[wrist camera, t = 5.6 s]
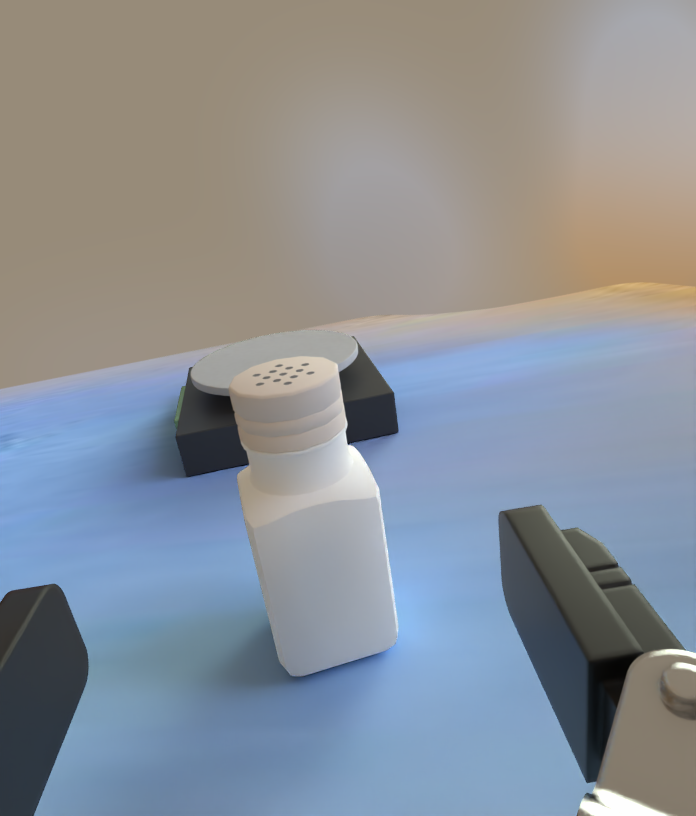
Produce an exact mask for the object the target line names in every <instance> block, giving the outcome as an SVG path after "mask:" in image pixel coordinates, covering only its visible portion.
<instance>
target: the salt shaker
mask: <svg viewBox="0 0 696 816" xmlns="http://www.w3.org/2000/svg"><path fill="white" fill-rule="evenodd" d="M228 390H229V394H230V399H231V403H232V407H233V410H234V411H235V414H234V416H235V420H236V424H237V425H238V433H239V437H240V440H241V445H242V446H243V448H244V450H246V452H247V456H248V460H249V466H248V467H246V468H245V469H244V470H242V471H241V472H239V473H238V475H237V482H238V489H239V494H240V500H241V505H242V510H243V515H244V520H245V525H246V529H247V533H248V537H249V541H250V545H251V549H252V553H253V557H254V561H255V565H256V569H257V573H258V577H259V581H260V585H261V590H262V594H263V598H264V602H265V606H266V610H267V614H268V618H269V622H270V626H271V630H272V634H273V638H274V642H275V646H276V650H277V655H278V659H279V662H280V663H281V665H282V666H283V667H284V668H285V669H286V670H287V671H288V673H289V674H290V675H291V676H305V675H308V674H312V673H315V672H318V671H321V670H325V669H328V668H331V667H334V666H338V665H341V664H344V663H347V662H351V661H354V660H357V659H360V658H364V657H367V656H370V655H373V654H377V653H380V652H383V651H386V650H388V649H389V648H391V647H392V646H393V645H395V644H396V640H397V636H398V620H397V613H396V606H395V599H394V592H393V585H392V578H391V570H390V563H389V556H388V549H387V542H386V535H385V528H384V521H383V514H382V507H381V500H380V493H379V488H378V485H377V483H376V481H375V479H374V477H373V475H372V473H371V471H370V469H369V467H368V466H367V464H366V462H365V460H364V459H363V457H362V456H361V454H360V453H359V452H358V450H357V449H356V448H354V447H353V446H352V445H347V438H346V432H345V431H346V429H347V426H348V424H347V420H346V417H345V416H346V415H345V409H344V403H343V397H342V390H341V384H340V378H339V371H338V365H337V364H336V363H334V362H332V361H330V360H328V359H326V358H324V357H308V356H298V357H291V358H283V359H276V360H272V361H269V362H266V363H262V364H259V365H256V366H252V367H251V368H249V369H247V370H245V371H244V372H242V373H240V374H238V375H236V376H235V377H234V378H233V380H232V382H231V384H230V386H229V388H228Z"/></svg>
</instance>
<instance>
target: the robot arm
mask: <svg viewBox="0 0 696 816" xmlns="http://www.w3.org/2000/svg"><path fill="white" fill-rule="evenodd" d="M499 540H500V558H501V576H502V586H503V592H504V596H505V601H506V604H507V607H508V610H509V613H510V616H511V618H512V620H513V622H514V625H515V627H516V629H517V631H518V633H519V635H520V638H521V640H522V642H523V644H524V646H525V649H526V651H527V653H528V655H529V657H530V660H531V662H532V664H533V666H534V668H535V671H536V673H537V675H538V677H539V679H540V681H541V684H542V686H543V688H544V690H545V692H546V695H547V697H548V699H549V701H550V703H551V706H552V708H553V710H554V712H555V714H556V717H557V719H558V721H559V723H560V725H561V727H562V730H563V732H564V734H565V736H566V738H567V741H568V743H569V745H570V747H571V749H572V752H573V754H574V756H575V758H576V760H577V763H578V765H579V767H580V769H581V771H582V774H583V776H584V778H585V780H586V782H587V783H590V782H596V785H595V788H594V791H593V793H592V795H591V794H589V793H586V794H585V796H584V798H583V800H582V802H581V804H580V807H579V810H578V813H577V816H696V653H693V652H688V651H686V650H685V649H684V648H683V646H682V645H681V644H680V642H679V641H678V640H677V639H676V637H675V636H674V635H673V633H672V632H671V631H670V630H669V628H668V627H667V626H666V624H665V623H664V622H663V621H662V619H661V618H660V617H659V615H658V614H657V613H656V612H655V610H654V609H653V608H652V606H651V605H650V604H649V603H648V601H647V600H646V599H645V597H644V596H643V595H642V593H641V592H640V591H639V590H638V588H637V587H636V586H635V584H634V585H632V583H631V579H630V578H629V577H628V575H627V574H626V573H625V572H624V570H623V569H622V568H621V567H619V566H618V563H617V561H616V560H615V559H614V557H613V556H612V555H611V554H610V552H609V551H608V550H607V548H606V547H605V546H604V545H603V543H602V542H600V541H598V540H597V539H595V538H593V537H592V536H590V535H589V534H587V533H585V532H584V531H582V530H580V529H579V528H572V529H566V530H560V529H559V528H558V526H557V525H556V523H555V522H554V520H553V519H552V518H551V516H550V515H549V513H548V512H547V510H546V509H545V508H544V507H543V506H542V505H536V506H530V507H524V508H518V509H512V510H506V511H501V512H500V513H499ZM87 677H88V654H87V650H86V647H85V644H84V642H83V639H82V637H81V634H80V632H79V629H78V627H77V624H76V622H75V620H74V617H73V615H72V612H71V610H70V607H69V605H68V602H67V600H66V597H65V595H64V593H63V591H62V589H61V588H60V587H59V586H58V585H56V584H49V585H43V586H37V587H31V588H25V589H19V590H13V591H10V592H8V593H7V594H6V595H5V596H4V598H3V599H2V601H1V602H0V816H34V813H35V811H36V808H37V806H38V803H39V801H40V798H41V796H42V793H43V791H44V788H45V786H46V783H47V781H48V778H49V775H50V773H51V770H52V768H53V765H54V763H55V760H56V758H57V755H58V753H59V750H60V748H61V745H62V743H63V740H64V738H65V735H66V733H67V730H68V728H69V725H70V723H71V720H72V718H73V715H74V713H75V710H76V708H77V705H78V703H79V700H80V698H81V695H82V693H83V690H84V688H85V685H86V682H87Z"/></svg>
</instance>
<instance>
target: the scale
mask: <svg viewBox="0 0 696 816" xmlns="http://www.w3.org/2000/svg"><path fill="white" fill-rule="evenodd" d="M298 356H308V357H324V358H326V359H328V360H330V361H332V362H334V363H336V364H337V365H338V371H339V378H340V384H341V390H342V397H343V403H344V409H345V415H346V416H345V417H346V420H347V424H348V426H347V429H346V431H345V432H346V438H347V443H350V442H354V441H359V440H364V439H369V438H374V437H378V436H383V435H388V434H393V433H397V432H398V423H397V415H396V406H395V398H394V392H393V391H392V389H391V388H390V387H389V385H388V384H387V382H386V381H385V380H384V378H383V377H382V375H381V374H380V373H379V371H378V370H377V368H376V367H375V366H374V364H373V363H372V361H371V360H370V358H369V357H368V356H367V354H366V353H365V351H364V350H363V349H362V347H361V346H360V344H359V343H358V342H357V340H356V339H355V337H354V336H353V337H351V336H349V335H347V334H344V333H340V332H334V331H326V330H302V331H290V332H282V333H276V334H270V335H265V336H260V337H256V338H252V339H248V340H244V341H241V342H238V343H235V344H232V345H229V346H226V347H224V348H221V349H219V350H217V351H215V352H213V353H211V354H209V355H207V356H205V357H204V358H202V359H201V360H200V361H198V362H197V363H196V364H195V365H194V366H193V367H190V368H189V372H188V377H187V382H186V386H183V387H182V388H181V392H180V397H179V402H178V406H177V411H176V415H175V420H174V423H175V427H176V430H177V432H176V441H177V444H178V448H179V451H180V455H181V458H182V462H183V465H184V469H185V472H186V476H192V475H197V474H202V473H206V472H211V471H216V470H221V469H225V468H230V467H235V466H240V465H245V464H249V460H248V456H247V452H246V450H244V448H243V446H242V445H241V440H240V437H239V433H238V425H237V424H236V420H235V416H234V414H235V411H234V410H233V407H232V403H231V399H230V394H229V390H228V388H229V386H230V384H231V382H232V380H233V378H234V377H235V376H236V375H238V374H240V373H242V372H244V371H245V370H247V369H249V368H251V367H252V366H256V365H259V364H262V363H266V362H269V361H272V360H276V359H283V358H291V357H298Z"/></svg>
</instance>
